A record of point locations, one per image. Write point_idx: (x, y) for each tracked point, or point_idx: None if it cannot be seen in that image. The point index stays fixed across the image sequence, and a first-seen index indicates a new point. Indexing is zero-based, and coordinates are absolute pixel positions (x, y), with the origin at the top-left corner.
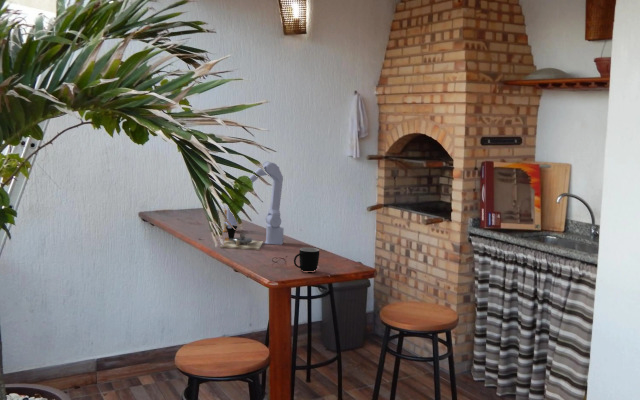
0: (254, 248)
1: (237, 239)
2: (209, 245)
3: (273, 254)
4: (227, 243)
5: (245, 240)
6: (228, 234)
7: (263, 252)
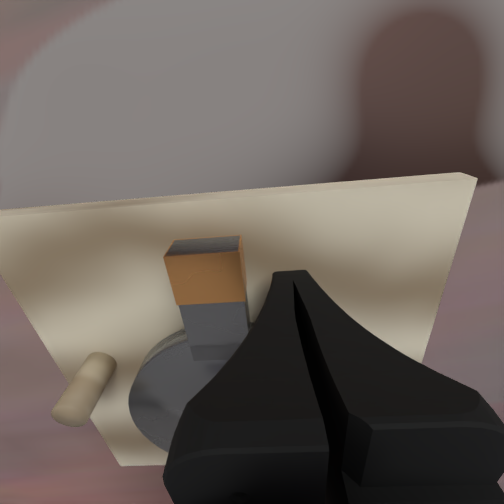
0: (112, 445)
1: (171, 390)
2: (29, 10)
3: (64, 499)
4: None
5: (159, 444)
6: (261, 314)
7: (78, 470)
